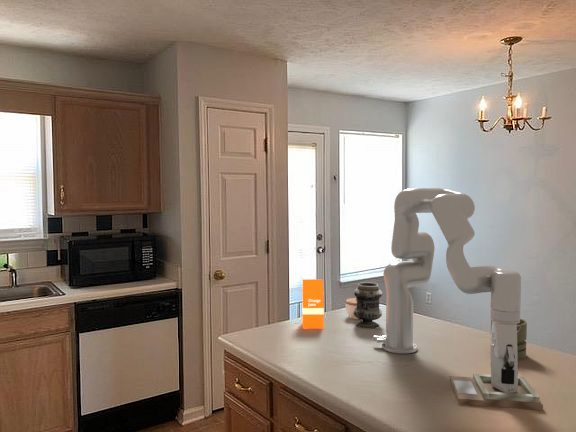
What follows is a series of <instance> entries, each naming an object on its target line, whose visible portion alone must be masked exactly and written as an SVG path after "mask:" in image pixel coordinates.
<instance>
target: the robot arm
mask: <svg viewBox="0 0 576 432" xmlns="http://www.w3.org/2000/svg"><path fill="white" fill-rule="evenodd" d="M393 209H394V210H393V211H394V225H393V231H392V240H391V254H392V256H393V257H394V258H396V259H398V260H402V261H394V262H390V263H389V264H388V265H386V266H385V267H384V269H383V282H384V288H385V297H386V299H385V304H386V305H385V306H386V307H385V308H386V313H385V316H386V318H385V319H386V320H385V322H386V324H385V326H386V328H385V333H384V335H383V334H382V336H381V335H373V342H376V343H378V344H379V343H381V348H382V349H383V350H384V351H386V352H388V353H392V354H401V355H402V354H412V353H415V352H417V351H418V345H417V344H416V343H414V298H413V296H412V294H411V292H410V291H409V288H416V287H422V286H424V285H426V284H428V282H429V281H430V279H431V275H432V269H433V262H434V255H435V242H434V239H433V236H431V235H430V234H429V233H427V232H426V231H425V232H424V231H419V227H420V220H419V218H418V215H417V214H431V213H432V215H433V217H434V220H435V221H436V223H437V225H438V227H439V229H440V231H441V232H442V234H443V236H444V238H445V240H446V242H447V248H446V252H445V263H446V267H447V271H448V272H449V274H450V277H451V278H452V280H453V282H454V284H455V286H456V287H457V288H458V289H459V290H460V291H461V292H462V293H464V294H466V295H475V294H481V293H490V321H491V320H492V329H491V328H490V345H491V344H493V353H494V354H495V356H496V357H497V358H498V359H500V358H502V366H503V369H502V368H501V383H502V384H514V370H515V368H514V366H515V365H514V363H515V359H516V358H517V324H518V323H520V319H521V301H522V300H521V298H522V297H521V296H522V276H521V274H520V273H519V272H518V271H515V270H509V269H507V270H506V269H502V268H500V267H498V266H494V265H482V266H480V265H479V266H470V264H469V262H468V261H467V259H466V257H465V254H464V246H465V245H467V244H468V243H470V241H471V240H473V238H474V237H475V235H476V234H475V230H474V228H473V226H472V225H471V223H470V222H469V219H470V218H472V216H473V215H474V214H475V213H474V212H475V210H476V206H475V203H474V200H473V198H471V197H470V196H469V195H468V194H466V193H463V192H459V191H455V190H450V189H448V188H447V189H446V188H441V187H413V188H412V187H411V188H410V187H409V188H406V189H403V190H401V191H400V192H398V194H397V195H396V197H395V199H394V206H393ZM403 260H405V261H403ZM489 347H490V348H491V346H489ZM506 350H507V355H508V358H505V357H504V355H505V353H506ZM505 360H508V362H506V365H505Z"/></svg>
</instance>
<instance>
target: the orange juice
mask: <svg viewBox="0 0 576 432" xmlns="http://www.w3.org/2000/svg"><path fill="white" fill-rule="evenodd" d="M301 293H302V294H301V295H302V296H301V297H302V299H301V300H302V305H301V307H302V310H301V311H302V329H324V320H325V319H324V317H325V316H324V315H325V314H324V313H325V309H324V308H325V307H324V301H325V300H324V295H325V294H324V280H323V278H322V279H319V278H318V279H309V278H308V279H303V278H302V291H301Z"/></svg>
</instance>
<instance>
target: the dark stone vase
mask: <svg viewBox="0 0 576 432" xmlns="http://www.w3.org/2000/svg"><path fill="white" fill-rule="evenodd" d="M353 295H354V297H355V298H356V297H357V307H356V308H355V309H354V315H355V316H356V317H357V318H359V319H358V320H361V321H358V322H356V324H355V326H356V327H358V328H360V329H366V330H371V329H377V328H379V327H380V324H379V323H377V322H376V321H375V320H379V319H380V318H382V316H383V311H382V310H381V308H380V298H382V296H383V291H382V290H381V289H380V288H379V284H378V283H376V282H369V281H363V282H359V283H358V284H357V288H355V289H354V292H353Z"/></svg>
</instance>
